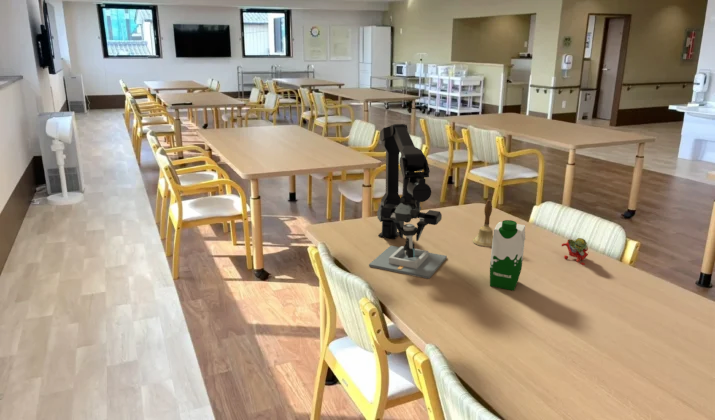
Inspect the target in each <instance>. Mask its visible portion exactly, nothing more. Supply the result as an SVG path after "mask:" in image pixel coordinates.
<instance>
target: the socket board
mask: <svg viewBox="0 0 715 420" xmlns="http://www.w3.org/2000/svg"><path fill="white" fill-rule="evenodd" d="M404 246H405V245H401V246H395V245H389V246H388V247H387V248H386V249H385V250H384V251H382V252H381V253H380V254H379V255H378V256H377V257H376V258H374V259H373V260H372V261H371V262H370V263H369V264H368V267H369V268H370V267H371V268H374V269H379V270H385V271H389V272H394V273H399V274H403V275H409V276H413V277H414V276H415V277H419V278H424V279H430V278H432V276H433V275H434V274H435V272H437V270H438V269H439V268H440V267H441V266H442V264H443V263H444V262H445V260H446V259H448V258H447V257H448V255H444V254H440V253H439V254H438V253H433V252H429V250H426V249H419V248H415V257H412V258H408V256H407V255H405V251H404Z"/></svg>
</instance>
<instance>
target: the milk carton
mask: <svg viewBox="0 0 715 420" xmlns="http://www.w3.org/2000/svg"><path fill="white" fill-rule="evenodd" d="M525 242H526V225H525V224H520V223H518V222H517V221H515V220H511V219H509V220H508V219H505V220H502V221H499V222H498V223H497V224H496V225H495V227H494V229H493V241H492V247H491V251H490V252H491V253H490V264H489V286H490V287H493V288H497V289H504V290H509V291H515V290H516V287H517V284H518V282H519V279H520V275H521V272H522V267H523V260H524V251H525V250H524V249H525Z"/></svg>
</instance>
